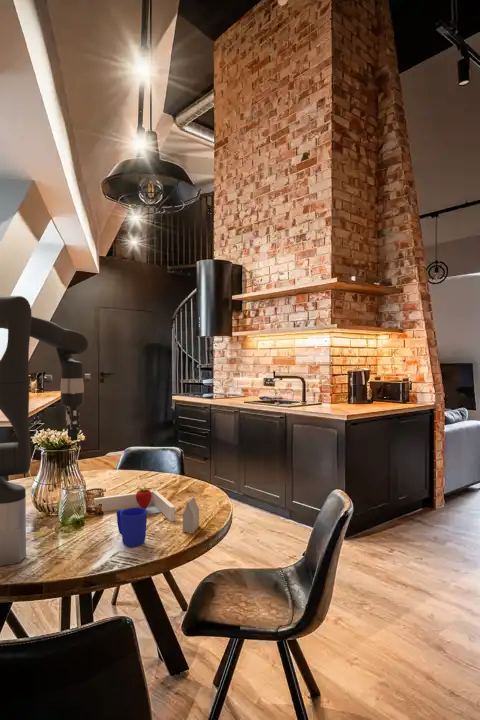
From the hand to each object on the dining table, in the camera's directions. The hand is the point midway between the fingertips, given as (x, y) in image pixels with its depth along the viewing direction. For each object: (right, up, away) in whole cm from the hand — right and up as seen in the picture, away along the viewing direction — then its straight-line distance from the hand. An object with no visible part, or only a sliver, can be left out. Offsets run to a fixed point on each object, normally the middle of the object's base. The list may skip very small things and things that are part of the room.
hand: (72, 438), depth 161 cm
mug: (+23, -30, -15) cm, 41 cm away
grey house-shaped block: (+41, -30, -4) cm, 51 cm away
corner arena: (+19, -30, +10) cm, 36 cm away
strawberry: (+21, -30, +15) cm, 40 cm away
